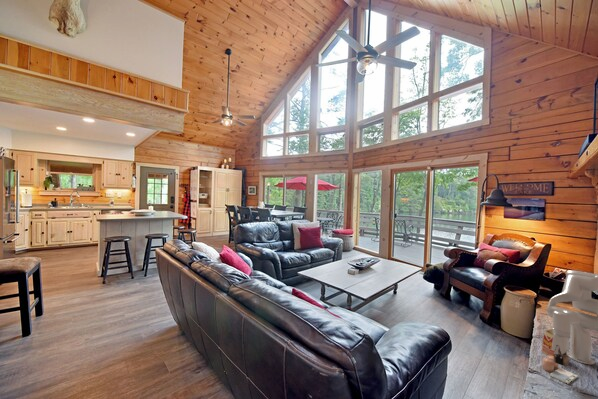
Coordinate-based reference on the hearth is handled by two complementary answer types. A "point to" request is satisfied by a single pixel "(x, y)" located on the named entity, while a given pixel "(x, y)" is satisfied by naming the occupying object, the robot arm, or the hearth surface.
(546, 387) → the hearth surface
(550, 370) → the egg
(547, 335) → the milk carton
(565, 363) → the brown cube
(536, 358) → the hearth surface
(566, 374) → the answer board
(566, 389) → the hearth surface
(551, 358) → the peach egg shape
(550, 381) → the hearth surface
